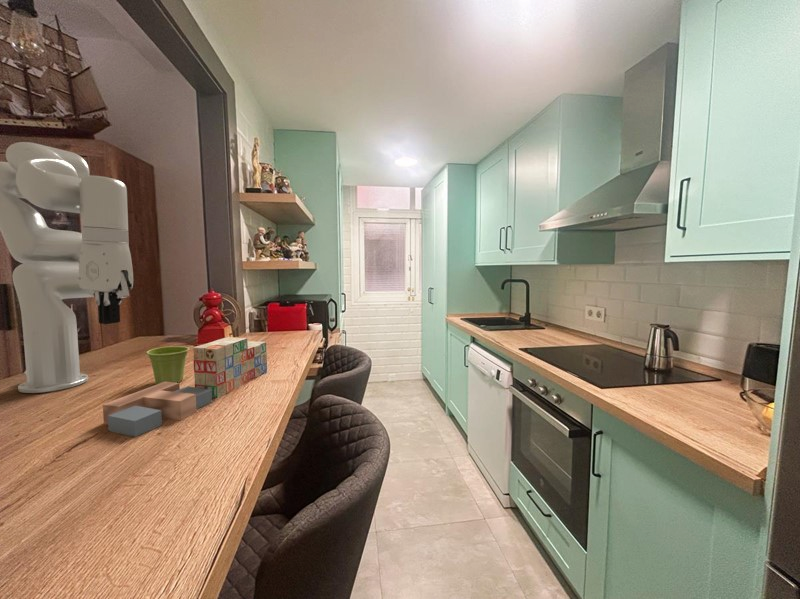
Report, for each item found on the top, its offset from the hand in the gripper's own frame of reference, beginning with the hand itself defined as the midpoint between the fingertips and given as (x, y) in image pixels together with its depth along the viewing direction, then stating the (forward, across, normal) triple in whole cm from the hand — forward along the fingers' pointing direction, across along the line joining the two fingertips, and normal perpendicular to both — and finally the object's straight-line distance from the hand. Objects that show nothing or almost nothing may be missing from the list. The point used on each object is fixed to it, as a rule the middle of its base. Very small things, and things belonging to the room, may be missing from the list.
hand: (109, 322), depth 74 cm
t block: (+18, +14, +1) cm, 23 cm away
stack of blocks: (+19, +14, +21) cm, 31 cm away
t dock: (+18, +16, 0) cm, 24 cm away
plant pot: (+19, -3, +16) cm, 25 cm away
